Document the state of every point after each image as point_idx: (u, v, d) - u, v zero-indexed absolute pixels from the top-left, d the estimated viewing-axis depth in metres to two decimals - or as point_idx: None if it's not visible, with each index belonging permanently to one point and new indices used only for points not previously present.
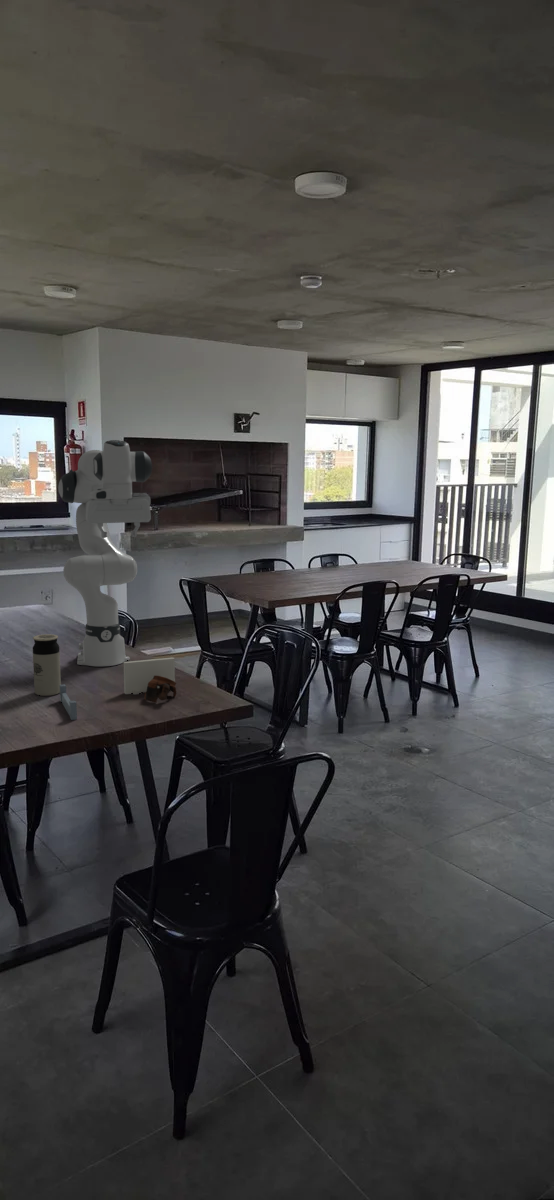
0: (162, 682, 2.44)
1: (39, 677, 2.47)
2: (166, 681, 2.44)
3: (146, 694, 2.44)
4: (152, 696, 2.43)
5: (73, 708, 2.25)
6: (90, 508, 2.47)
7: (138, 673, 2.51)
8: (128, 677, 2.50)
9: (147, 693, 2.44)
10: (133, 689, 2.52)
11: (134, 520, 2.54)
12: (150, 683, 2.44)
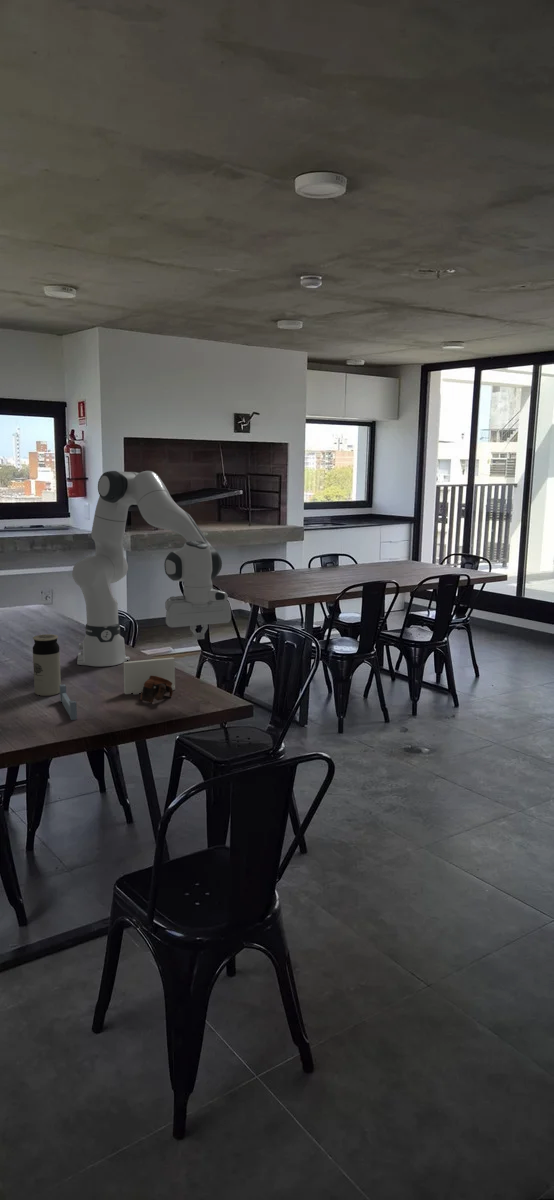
0: (158, 682, 2.43)
1: (39, 677, 2.47)
2: (162, 681, 2.44)
3: (142, 694, 2.44)
4: (148, 696, 2.42)
5: (73, 708, 2.25)
6: None
7: (138, 673, 2.51)
8: (128, 677, 2.50)
9: (143, 693, 2.44)
10: (133, 689, 2.52)
11: None
12: (146, 683, 2.44)
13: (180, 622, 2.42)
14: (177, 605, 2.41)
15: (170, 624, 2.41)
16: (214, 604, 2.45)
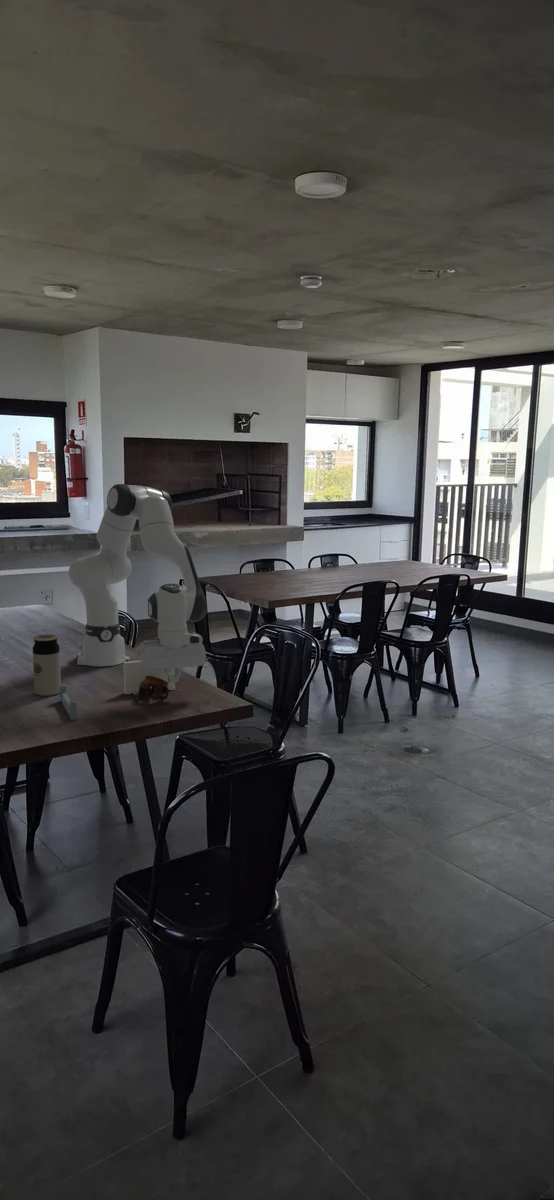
0: (154, 682, 2.43)
1: (39, 677, 2.47)
2: (159, 681, 2.44)
3: (138, 694, 2.44)
4: (144, 696, 2.42)
5: (73, 708, 2.25)
6: None
7: (138, 673, 2.51)
8: (128, 677, 2.50)
9: (139, 693, 2.43)
10: (133, 689, 2.52)
11: None
12: (142, 683, 2.44)
13: (154, 666, 2.42)
14: (151, 648, 2.40)
15: (144, 668, 2.40)
16: (189, 647, 2.44)
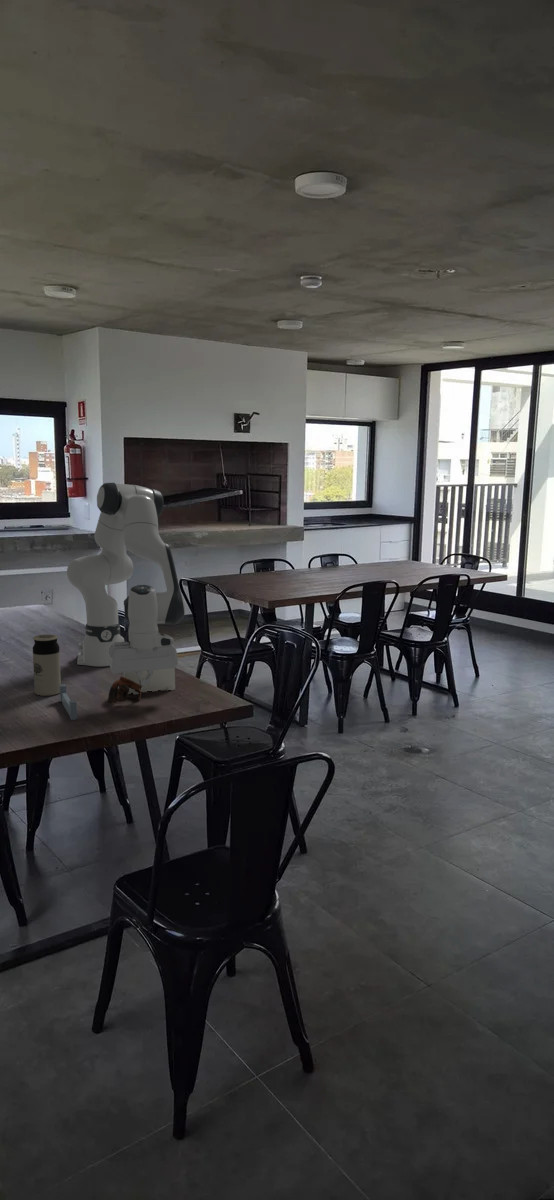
0: (123, 683, 2.41)
1: (39, 677, 2.47)
2: (128, 683, 2.42)
3: (109, 694, 2.43)
4: (112, 696, 2.41)
5: (73, 708, 2.25)
6: None
7: None
8: (128, 677, 2.50)
9: (109, 693, 2.43)
10: (133, 689, 2.52)
11: None
12: (113, 683, 2.43)
13: (124, 669, 2.38)
14: (121, 651, 2.37)
15: (114, 670, 2.37)
16: (160, 650, 2.41)
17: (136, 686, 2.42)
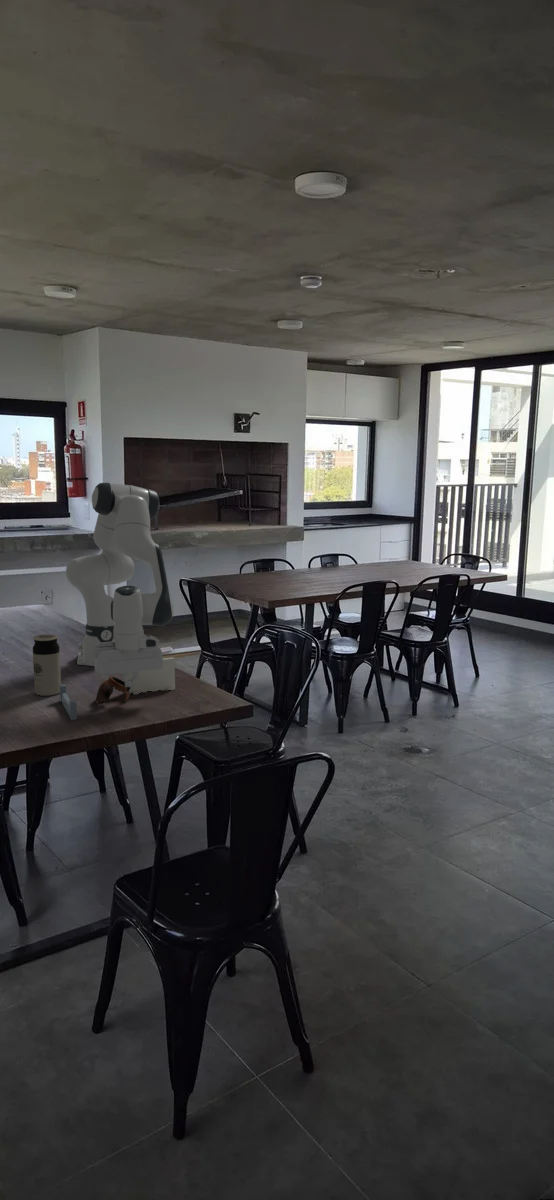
0: (108, 684, 2.41)
1: (39, 677, 2.47)
2: (113, 684, 2.41)
3: (97, 693, 2.44)
4: (98, 696, 2.42)
5: (73, 708, 2.25)
6: None
7: (138, 673, 2.51)
8: (128, 677, 2.50)
9: None
10: (133, 689, 2.52)
11: None
12: None
13: (109, 670, 2.36)
14: (106, 652, 2.35)
15: (98, 672, 2.35)
16: (145, 651, 2.39)
17: (121, 688, 2.41)
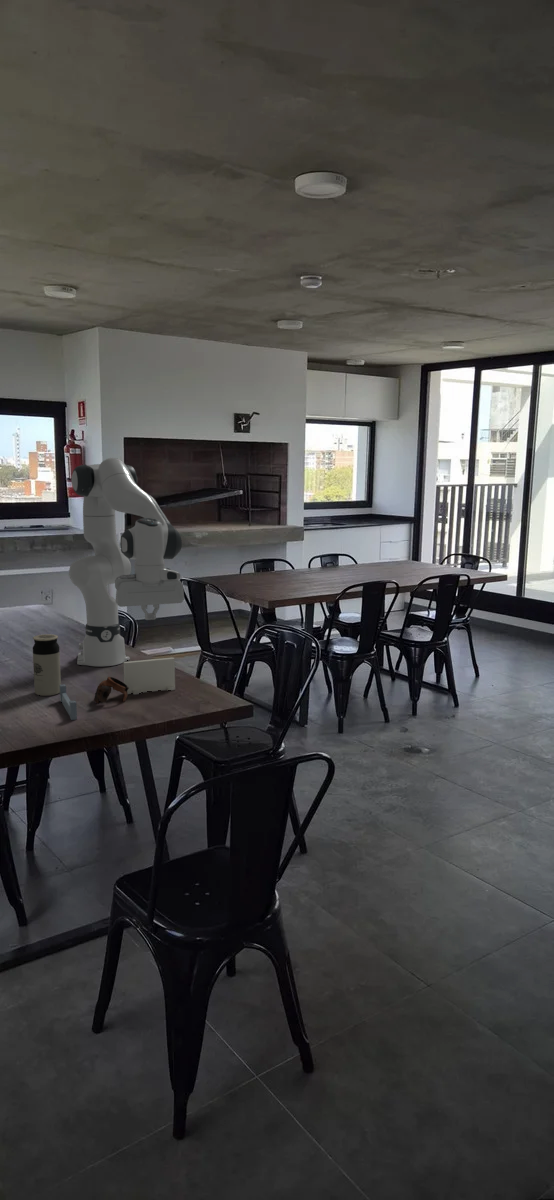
0: (106, 684, 2.41)
1: (39, 677, 2.47)
2: (111, 684, 2.41)
3: None
4: (96, 696, 2.42)
5: (73, 708, 2.25)
6: None
7: (138, 673, 2.51)
8: (128, 677, 2.50)
9: (95, 693, 2.44)
10: (133, 689, 2.52)
11: None
12: (100, 683, 2.44)
13: (130, 602, 2.36)
14: (127, 583, 2.35)
15: (119, 603, 2.35)
16: (166, 584, 2.39)
17: (119, 688, 2.41)
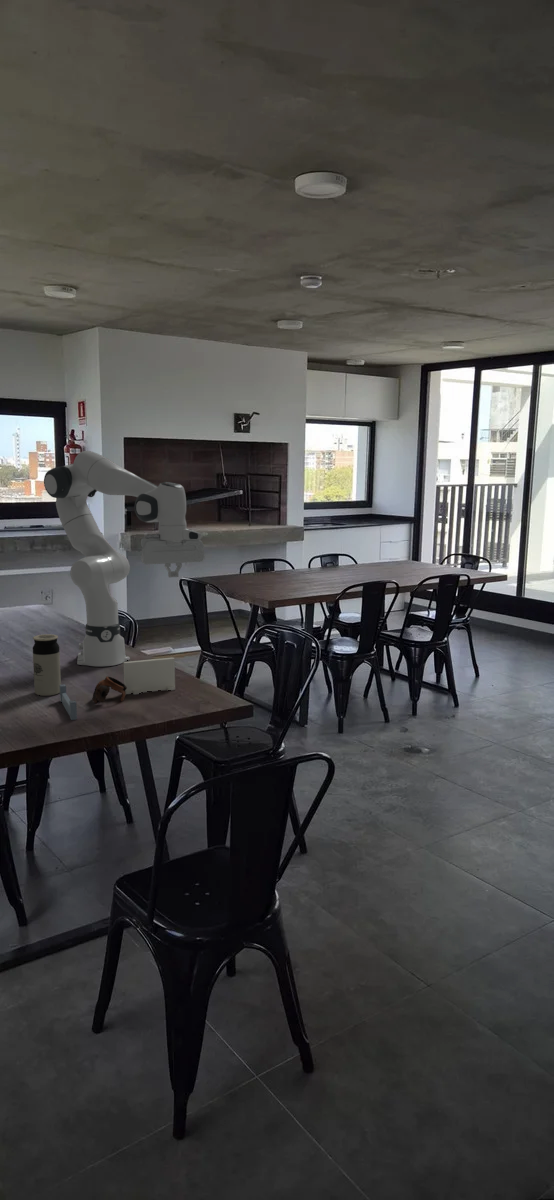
0: (104, 684, 2.41)
1: (39, 677, 2.47)
2: (109, 684, 2.41)
3: None
4: (94, 696, 2.42)
5: (73, 708, 2.25)
6: None
7: (138, 673, 2.51)
8: (128, 677, 2.50)
9: None
10: (133, 689, 2.52)
11: None
12: (98, 683, 2.44)
13: (154, 560, 2.53)
14: (152, 542, 2.52)
15: (145, 561, 2.52)
16: (188, 543, 2.56)
17: (117, 687, 2.41)
